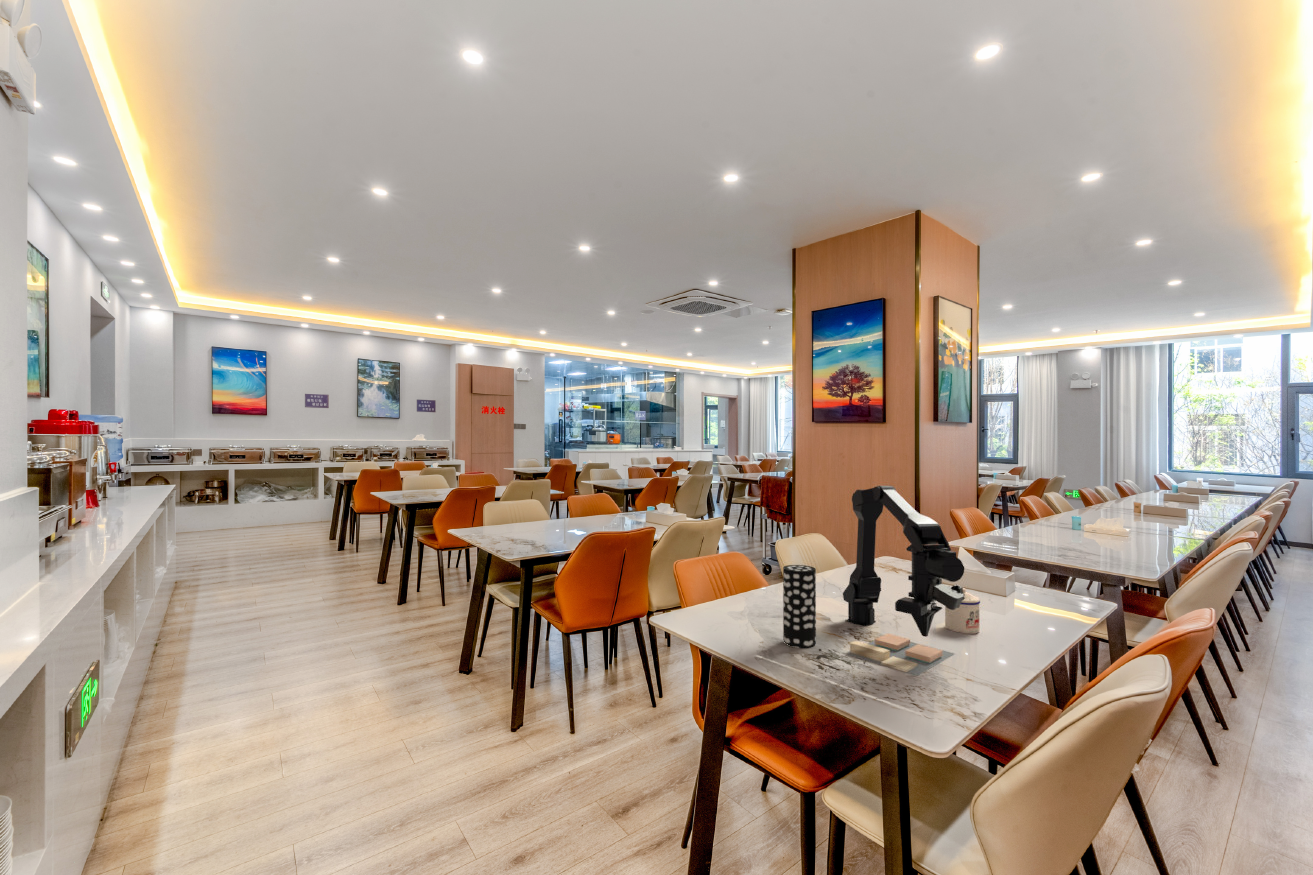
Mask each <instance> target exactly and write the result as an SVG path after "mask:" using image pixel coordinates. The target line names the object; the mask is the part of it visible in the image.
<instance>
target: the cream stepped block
mask: <svg viewBox="0 0 1313 875" xmlns="http://www.w3.org/2000/svg"><path fill="white" fill-rule="evenodd" d="M849 646H850V647H849V651H850V653H854V654H857V655H860V656H863V657H867V658H870V659H873V660H877V661H880V662H881V665H880V666H883V665H885V666H884V667H886V666H888V667H887V668H889V667H891V668H890V669H893V668H894V669H893V670H896V669H898V670H897V671H899V670H901V671H900V672H902V671H904V672H903V673H905V672H907V671H909V670H911V669H913V668H915V667H917V663H914V662H911V661H907V660H904V659H900V658H897V657H894V656H892V657H890V650H887V649H884V648H880V647H876V646H873V645H869V644H868V643H865V642H862V641H858V640H854V641H851V642H850V643H849Z"/></svg>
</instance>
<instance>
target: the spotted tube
mask: <svg viewBox="0 0 1313 875" xmlns="http://www.w3.org/2000/svg"><path fill="white" fill-rule="evenodd" d="M816 570H817V569H816V567H814V566H810V565H804V564H789V565H784V566H783V568H782V577H783V578H782V585H783V586H782V588H783V591H782V595H783V596H782V598H783V600H782V601H783V602H782V603H783V605H782V608H783V609H782V610H783V613H782V614H783V616H782V618H783V619H782V620H783V621H782V622H783V627H782V628H783V630H782V631H783V633H782V635H783V640H784V642H785V643H786V644H788V645H790V646H794V647H798V648H797V649H812V648H814V647H816V645H817V623H816V622H817V614H816V613H817V610H816V609H817V599H816V598H817V597H816V596H817V593H816V591H817V590H816V588H817V587H816V586H817V584H816V583H817V581H816V580H817V578H816V577H817V575H816V573H817V571H816ZM783 640H782V641H783ZM786 644H785V645H786ZM788 645H787V646H788ZM790 646H789V647H790ZM794 647H793V648H794Z"/></svg>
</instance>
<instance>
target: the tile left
mask: <svg viewBox="0 0 1313 875" xmlns="http://www.w3.org/2000/svg"><path fill="white" fill-rule="evenodd" d="M874 640H875V644H877V646H880V647H884V648H887V649H891V650H894V651H898V650H900V649H902V648H904V647H907V646H909V644H910V642H911V639H910V638H906V637H903V636H899V635H896V634H892V633H886V634H884V635H881V636H879V637H877V638H874Z"/></svg>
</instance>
